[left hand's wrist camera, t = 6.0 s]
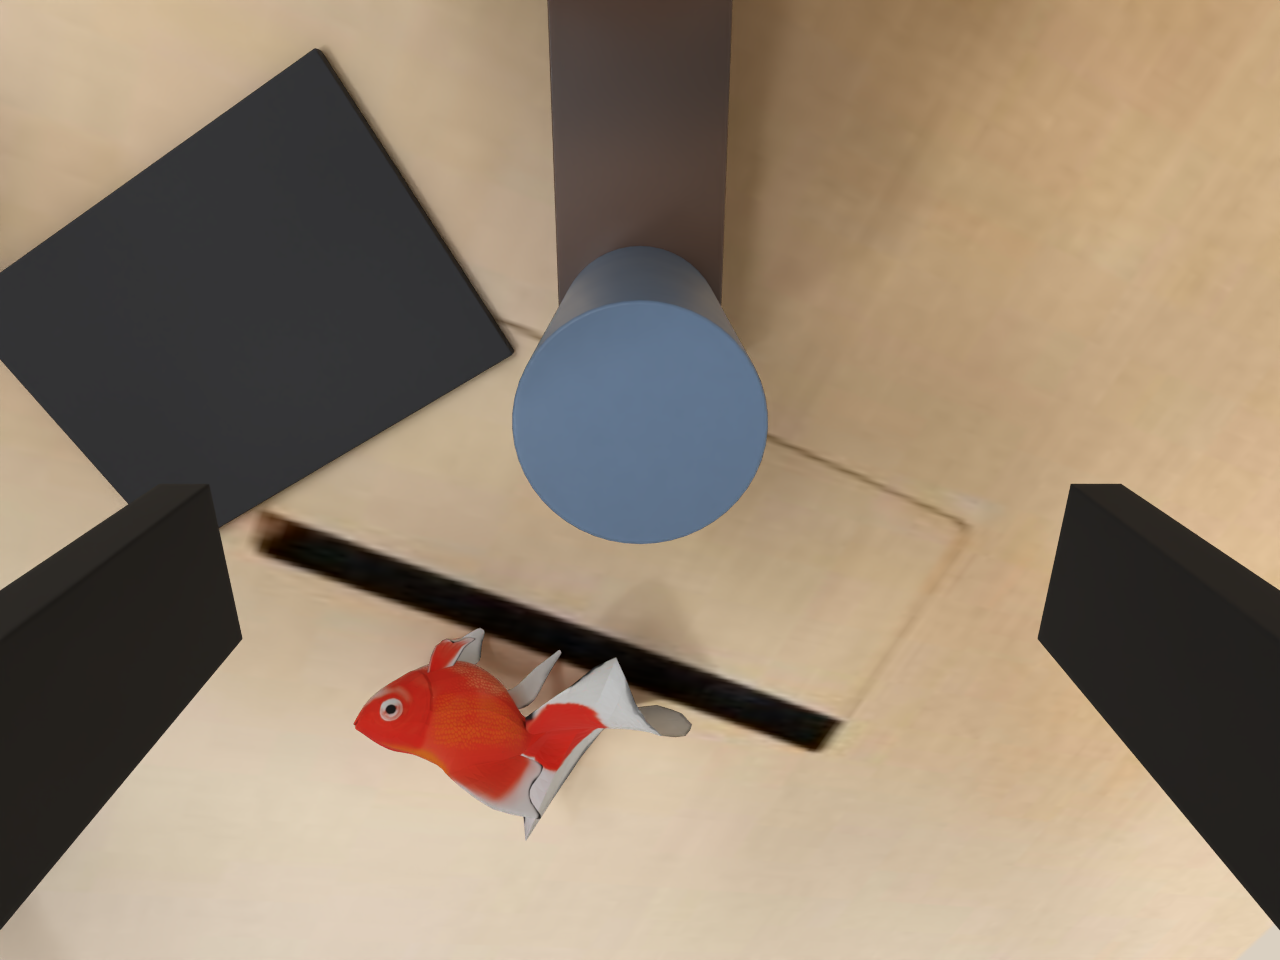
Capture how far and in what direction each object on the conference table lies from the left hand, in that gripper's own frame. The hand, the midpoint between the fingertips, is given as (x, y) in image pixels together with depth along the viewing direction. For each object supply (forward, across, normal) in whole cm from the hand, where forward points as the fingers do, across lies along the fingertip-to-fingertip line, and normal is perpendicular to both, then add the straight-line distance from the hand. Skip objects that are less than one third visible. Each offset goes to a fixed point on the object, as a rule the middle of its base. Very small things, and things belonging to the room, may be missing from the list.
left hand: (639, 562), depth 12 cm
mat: (+25, +18, +1) cm, 30 cm away
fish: (+25, +5, +19) cm, 32 cm away
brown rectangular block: (+25, 0, -8) cm, 26 cm away
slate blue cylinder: (+19, 0, 0) cm, 19 cm away
